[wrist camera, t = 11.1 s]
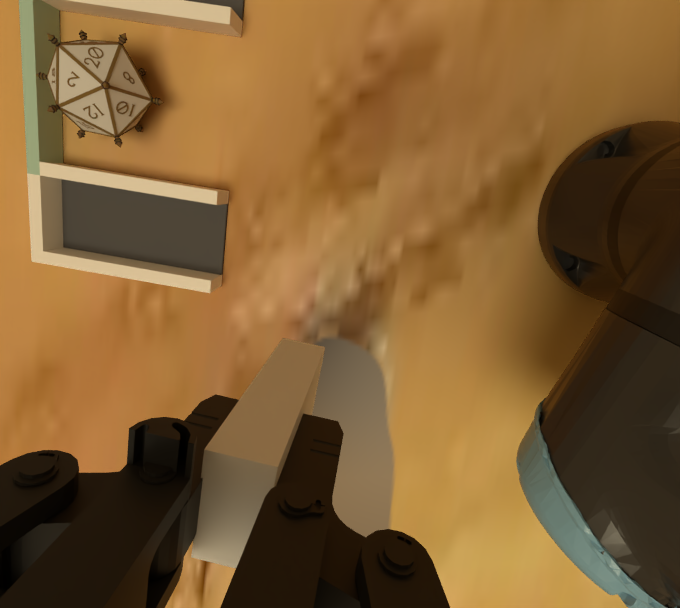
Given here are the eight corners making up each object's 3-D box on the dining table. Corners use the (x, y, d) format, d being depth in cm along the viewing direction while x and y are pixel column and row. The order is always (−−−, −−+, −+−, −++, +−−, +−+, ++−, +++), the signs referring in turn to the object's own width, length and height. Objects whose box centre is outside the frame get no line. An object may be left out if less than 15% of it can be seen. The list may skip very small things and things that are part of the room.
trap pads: (250, -77, 34) (249, -79, 34) (222, 274, 42) (221, 275, 42) (56, -103, 35) (53, -106, 35) (65, 247, 43) (63, 247, 43)
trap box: (251, -95, 34) (240, -121, 31) (221, 285, 43) (210, 293, 40) (42, -123, 35) (11, -151, 32) (54, 256, 43) (31, 261, 41)
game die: (134, 90, 42) (44, -13, 33) (199, 99, 39) (119, -12, 30) (87, 163, 40) (-23, 75, 31) (151, 179, 37) (49, 87, 28)
